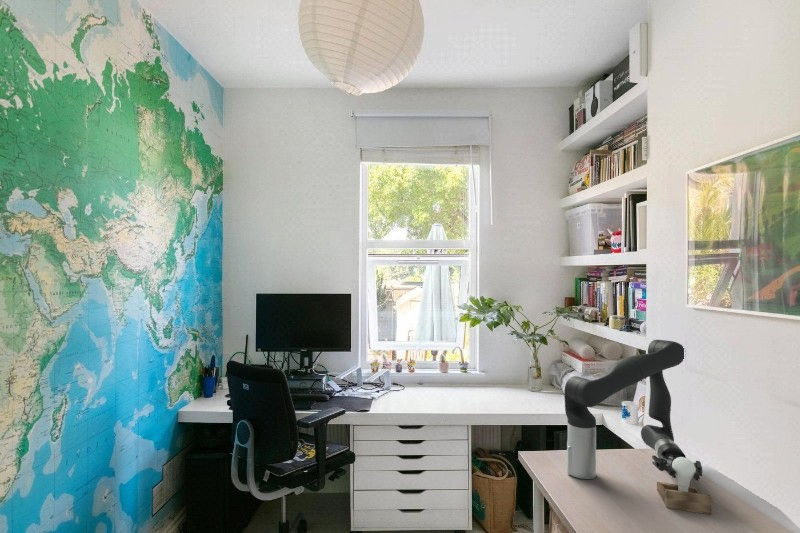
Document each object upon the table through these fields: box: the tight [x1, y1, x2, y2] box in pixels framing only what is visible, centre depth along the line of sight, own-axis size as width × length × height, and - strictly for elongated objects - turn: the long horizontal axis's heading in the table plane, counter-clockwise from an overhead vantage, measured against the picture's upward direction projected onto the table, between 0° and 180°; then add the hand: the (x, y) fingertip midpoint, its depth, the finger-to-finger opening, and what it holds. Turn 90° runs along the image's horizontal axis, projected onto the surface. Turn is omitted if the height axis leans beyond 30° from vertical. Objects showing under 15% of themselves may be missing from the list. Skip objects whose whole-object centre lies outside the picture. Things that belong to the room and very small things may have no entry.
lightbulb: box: [672, 457, 696, 492], centre depth 133 cm, size 6×6×11 cm
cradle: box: [656, 481, 712, 515], centre depth 133 cm, size 11×11×5 cm
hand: (685, 476), depth 131 cm, fingers closed on lightbulb, 5 cm apart
